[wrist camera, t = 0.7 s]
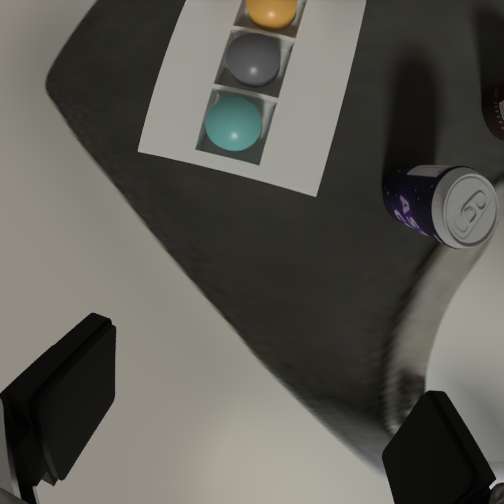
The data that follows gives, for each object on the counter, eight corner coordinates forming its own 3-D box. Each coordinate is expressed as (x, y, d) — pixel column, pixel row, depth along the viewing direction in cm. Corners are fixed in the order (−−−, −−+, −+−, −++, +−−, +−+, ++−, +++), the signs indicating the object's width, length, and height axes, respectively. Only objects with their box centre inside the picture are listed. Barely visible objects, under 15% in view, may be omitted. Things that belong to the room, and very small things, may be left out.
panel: (207, -19, 23) (201, -33, 21) (359, 13, 23) (366, 0, 21) (150, 152, 29) (137, 151, 26) (311, 194, 29) (315, 196, 26)
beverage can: (368, 190, 28) (422, 205, 17) (407, 152, 27) (476, 149, 15) (402, 233, 29) (464, 271, 17) (439, 197, 28) (513, 216, 16)
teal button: (219, 98, 25) (213, 91, 23) (268, 109, 25) (267, 103, 23) (206, 145, 26) (199, 143, 24) (254, 157, 26) (252, 156, 24)
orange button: (254, -10, 22) (253, -23, 20) (300, 0, 22) (302, -13, 20) (242, 25, 23) (239, 14, 21) (290, 35, 23) (291, 24, 21)
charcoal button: (237, 39, 24) (234, 28, 21) (285, 49, 24) (286, 39, 21) (224, 81, 25) (219, 73, 22) (273, 92, 25) (272, 85, 22)
